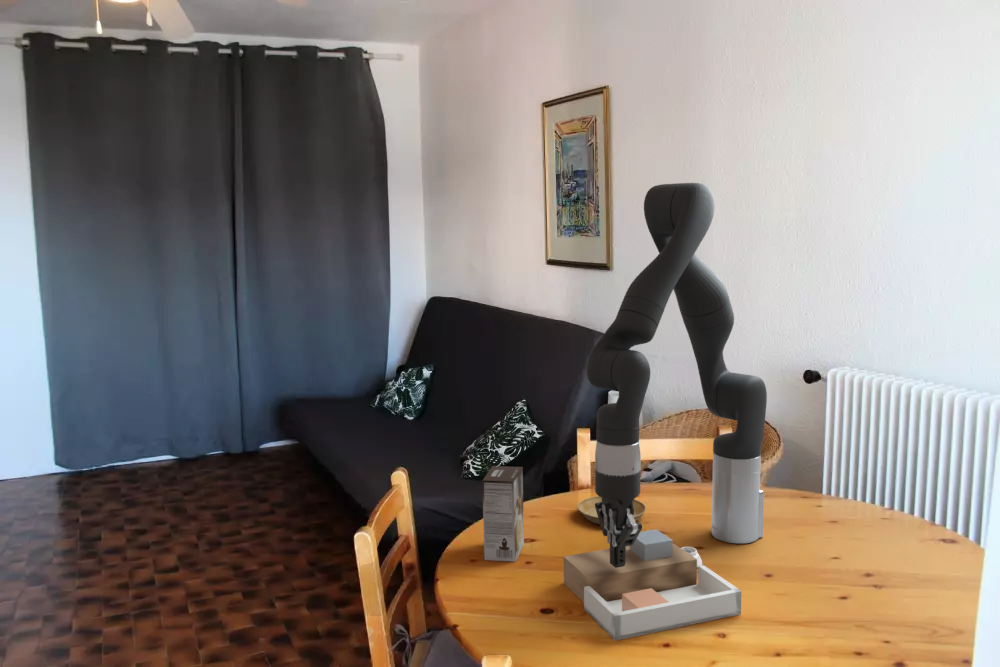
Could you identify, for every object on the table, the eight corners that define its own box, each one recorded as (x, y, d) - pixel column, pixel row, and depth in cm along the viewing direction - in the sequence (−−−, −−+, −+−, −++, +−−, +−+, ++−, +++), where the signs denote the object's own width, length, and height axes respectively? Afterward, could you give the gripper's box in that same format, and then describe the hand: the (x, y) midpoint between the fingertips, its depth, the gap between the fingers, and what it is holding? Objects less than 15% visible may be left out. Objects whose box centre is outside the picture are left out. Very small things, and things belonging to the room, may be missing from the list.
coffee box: (493, 542, 169) (491, 464, 167) (524, 543, 168) (523, 466, 166) (483, 560, 160) (481, 479, 158) (516, 562, 159) (515, 481, 157)
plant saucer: (581, 504, 191) (581, 493, 190) (647, 507, 188) (647, 496, 187) (573, 528, 176) (573, 516, 176) (645, 532, 173) (645, 520, 173)
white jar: (681, 571, 154) (706, 569, 155) (681, 556, 154) (706, 553, 155) (670, 560, 159) (694, 558, 160) (670, 546, 159) (695, 543, 160)
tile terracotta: (669, 602, 134) (669, 619, 135) (651, 588, 139) (651, 605, 140) (639, 608, 132) (639, 626, 133) (622, 594, 138) (622, 611, 138)
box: (702, 586, 148) (703, 564, 147) (740, 614, 137) (741, 591, 137) (584, 609, 140) (584, 586, 139) (614, 640, 130) (615, 616, 129)
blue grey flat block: (656, 544, 154) (656, 529, 153) (672, 556, 149) (672, 540, 148) (629, 549, 152) (629, 533, 151) (644, 561, 147) (644, 544, 146)
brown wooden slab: (666, 564, 157) (666, 538, 156) (696, 586, 148) (696, 559, 147) (563, 583, 150) (563, 556, 149) (588, 607, 141) (588, 578, 140)
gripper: (657, 475, 135) (656, 577, 138) (619, 453, 148) (618, 547, 150) (616, 481, 133) (616, 585, 135) (580, 458, 145) (580, 554, 148)
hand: (617, 565), depth 143 cm, fingers closed
